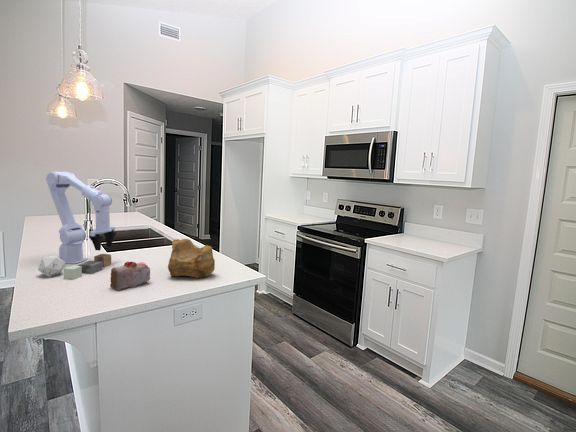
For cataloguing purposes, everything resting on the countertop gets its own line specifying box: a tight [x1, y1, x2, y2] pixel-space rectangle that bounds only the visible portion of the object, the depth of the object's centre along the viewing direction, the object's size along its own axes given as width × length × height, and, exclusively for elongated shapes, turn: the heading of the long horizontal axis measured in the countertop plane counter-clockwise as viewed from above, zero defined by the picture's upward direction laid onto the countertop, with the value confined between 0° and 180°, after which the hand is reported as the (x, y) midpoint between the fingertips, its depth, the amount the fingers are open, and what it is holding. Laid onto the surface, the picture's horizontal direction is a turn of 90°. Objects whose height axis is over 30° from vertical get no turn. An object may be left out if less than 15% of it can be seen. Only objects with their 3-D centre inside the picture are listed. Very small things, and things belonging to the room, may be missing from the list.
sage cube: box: [62, 265, 83, 281], centre depth 137 cm, size 4×4×4 cm
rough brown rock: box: [167, 238, 216, 279], centre depth 145 cm, size 23×17×15 cm
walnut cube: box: [93, 253, 112, 268], centre depth 154 cm, size 5×5×5 cm
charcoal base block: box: [78, 260, 104, 275], centre depth 145 cm, size 6×6×4 cm
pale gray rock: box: [37, 254, 67, 278], centre depth 138 cm, size 8×9×10 cm
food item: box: [109, 261, 151, 291], centre depth 130 cm, size 14×8×10 cm, turn 143°
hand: (103, 248), depth 153 cm, fingers open, 7 cm apart
